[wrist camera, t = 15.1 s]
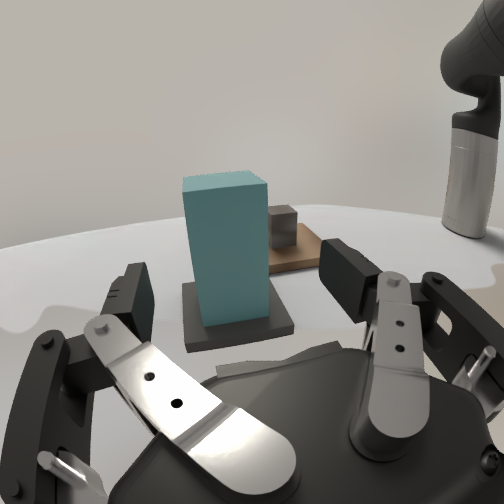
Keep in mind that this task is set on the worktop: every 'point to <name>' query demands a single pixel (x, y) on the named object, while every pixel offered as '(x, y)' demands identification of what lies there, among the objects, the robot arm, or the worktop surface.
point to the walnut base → (297, 252)
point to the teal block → (228, 245)
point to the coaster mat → (231, 324)
